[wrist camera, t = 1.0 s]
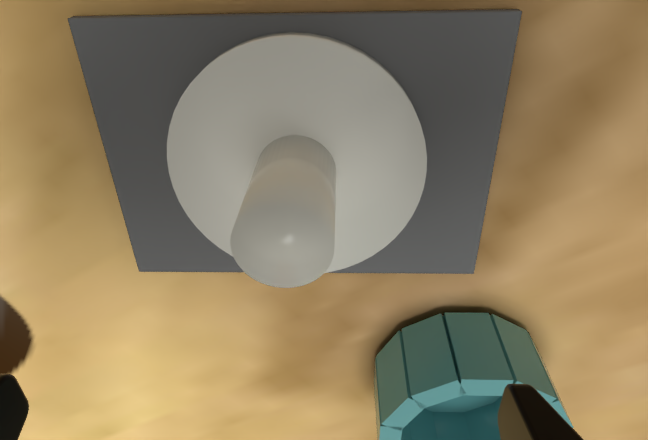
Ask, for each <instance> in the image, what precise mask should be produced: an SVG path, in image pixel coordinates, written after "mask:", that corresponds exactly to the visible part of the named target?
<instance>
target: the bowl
mask: <svg viewBox="0 0 648 440" xmlns="http://www.w3.org/2000/svg"><path fill="white" fill-rule="evenodd" d="M508 384H529V385H531V386H533V387H534V388H535V389H536V390H537V391H538V392H539V393H540V394H541V395H542V396H543V398H544V399H545V400H546V401H547V402H548V403H549V404H550V405H551V406H552V407H553V408H554V409H555V410H556V411H557V412H558V413H559V414H560V415H561V416H562V418H563V419H564V420H565V421H566V422H567V423H568V424H569V425H570V426H571V427H572V428H573V426H572V424H571V421H570V419H569V417H568V415H567V413H566V410H565V408H564V406H563V404H562V401H561V399H560V397H559V395H558V393H557V390H556V388H555V386H554V384H553V382H552V379H551V377H550V375H549V373H548V371H547V368H546V366H545V364H544V362H543V360H542V357H541V356H540V354H539V352H538V350H537V348H536V346H535V344H534V342H533V340H532V338H531V336H530V334H529V332H527V331H526V330H525V329H523V328H521V327H519V326H517V325H515V324H513V323H511V322H508V321H506V320H504V319H502V318H500V317H498V316H496V315H494V314H491V315H489V313H448V312H445V313H444V316H442V314H441V313H440V314H437V315H435V316H432V317H430V318H427V319H425V320H422V321H420V322H417V323H415V324H412V325H409V326H407V327H404V328H402V332H401V331H398V332H397V333H396V334H395V335H394V336H393V338H392V339H391V340H390V341H389V342H388V343H387V344H386V345H385V347H384V348H383V349H382V350H381V351H380V352H379V353H378V354H377V355H376V358H375V374H374V394H375V410H376V425H377V440H501V438H500V433H499V427H498V411H499V407H500V403H501V400H502V396H503V392H504V389H505V387H506V386H507V385H508Z"/></svg>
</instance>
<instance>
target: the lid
mask: <svg viewBox="0 0 648 440" xmlns="http://www.w3.org/2000/svg"><path fill="white" fill-rule="evenodd" d="M167 163H168V170H169V175H170V179H171V182H172V186H173V189H174V191H175V193H176V196H177V198H178V200H179V202H180V204H181V206H182V208H183V209H184V211H185V213H186V214H187V216H188V217H189V218H190V220H191V221H192V222H193V224H194V225H195V226H196V227H197V228H198V229H199V230H200V231H201V232H202V234H203V235H204V236H205V237H206V238H208V239H209V240H210V241H211V242H212V243H214V244H215V245H216V246H217V247H219V248H220V249H222V250H223V251H225V252H226V253H228V254H229V255H231V256H233V257H234V259H235V261H236V263H237V264H238V265H239V267H240V268H241V269H242V270H243V271H244V272H245V273H246V274H247V275H248V276H250V277H251V278H253V279H254V280H256V281H258V282H260V283H263V284H266V285H269V286H273V287H279V288H293V287H299V286H303V285H306V284H308V283H311V282H313V281H315V280H316V279H318V278H319V277H320V276H321V275H323V274H324V273H328V272H333V271H337V270H341V269H344V268H347V267H350V266H352V265H355V264H358V263H360V262H362V261H364V260H366V259H368V258H369V257H371V256H373V255H374V254H376V253H377V252H379V251H380V250H382V249H383V248H385V247H386V246H387V245H388V244H389V243H390V242H391V241H392V240H394V239H395V238H396V237H397V235H398V234H399V233H400V232H401V231H402V230H403V229H404V227H405V226H406V225H407V223H408V222H409V220H410V219H411V217H412V216H413V214H414V212H415V210H416V208H417V206H418V203H419V201H420V198H421V195H422V192H423V189H424V184H425V179H426V173H427V152H426V144H425V138H424V135H423V131H422V127H421V124H420V121H419V119H418V116H417V114H416V112H415V109H414V107H413V105H412V102H411V100H410V99H409V97H408V96H407V94H406V92H405V91H404V89H403V87H402V86H401V85H400V84H399V82H398V81H397V80H396V79H395V78H394V76H393V75H392V74H391V73H390V72H389V71H388V70H387V69H386V68H385V67H383V66H382V65H381V64H380V63H379V62H378V61H376V60H375V59H374V58H372V57H371V56H369V55H368V54H366V53H365V52H363V51H362V50H360V49H358V48H356V47H354V46H352V45H350V44H348V43H345V42H342V41H340V40H337V39H334V38H331V37H327V36H322V35H317V34H312V33H298V32H287V33H275V34H269V35H265V36H260V37H256V38H253V39H250V40H248V41H245V42H242V43H240V44H237V45H236V46H234V47H232V48H230V49H229V50H227V51H225V52H223V53H222V54H220V55H219V56H218V57H217V58H215V59H214V60H213V61H211V62H210V63H209V64H208V65H207V66H206V67H205V68H204V69H203V70H202V71H201V72H200V73H199V74H198V76H197V77H196V78H195V79H194V80H193V81H192V82H191V83H190V84H189V86H188V87H187V89H186V90H185V92H184V93H183V95H182V96H181V98H180V100H179V102H178V104H177V106H176V108H175V110H174V113H173V116H172V119H171V123H170V126H169V132H168V138H167Z"/></svg>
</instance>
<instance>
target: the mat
mask: <svg viewBox="0 0 648 440" xmlns="http://www.w3.org/2000/svg"><path fill="white" fill-rule="evenodd" d="M521 14H522V11H520V10H518V9H500V10H437V11H374V12H311V13H248V14H185V15H122V16H73V17H70V18H68V22H69V25H70V29H71V32H72V36H73V39H74V43H75V46H76V50H77V54H78V57H79V61H80V64H81V68H82V71H83V75H84V78H85V82H86V85H87V89H88V92H89V96H90V100H91V103H92V107H93V110H94V114H95V117H96V121H97V124H98V128H99V131H100V135H101V138H102V142H103V146H104V149H105V153H106V156H107V160H108V163H109V167H110V170H111V174H112V177H113V181H114V184H115V188H116V192H117V195H118V199H119V202H120V206H121V209H122V213H123V216H124V220H125V223H126V227H127V230H128V234H129V238H130V241H131V245H132V248H133V252H134V255H135V259H136V262H137V266H138V269H139V271H141V272H244V271H243V270H242V269H241V268H240V267H239V265H238V264H237V263H236V261H235V259H234V257H233V256H231V255H229V254H228V253H226V252H225V251H223V250H222V249H220V248H219V247H217V246H216V245H215V244H214V243H212V242H211V241H210V240H209V239H208V238H206V237H205V236H204V235H203V234H202V232H201V231H200V230H199V229H198V228H197V227H196V226H195V225H194V224H193V222H192V221H191V220H190V218H189V217H188V216H187V214H186V213H185V211H184V209H183V208H182V206H181V204H180V202H179V200H178V198H177V196H176V193H175V191H174V189H173V186H172V182H171V179H170V175H169V170H168V163H167V138H168V132H169V126H170V123H171V119H172V116H173V113H174V110H175V108H176V106H177V104H178V102H179V100H180V98H181V96H182V95H183V93H184V92H185V90H186V89H187V87H188V86H189V84H190V83H191V82H192V81H193V80H194V79H195V78H196V77H197V76H198V74H199V73H200V72H201V71H202V70H203V69H204V68H205V67H206V66H207V65H208V64H209V63H210V62H211V61H213V60H214V59H215V58H217V57H218V56H219V55H220V54H222V53H223V52H225V51H227V50H229V49H230V48H232V47H234V46H236V45H237V44H240V43H242V42H245V41H248V40H250V39H253V38H256V37H260V36H265V35H269V34H275V33H287V32H298V33H312V34H317V35H322V36H327V37H331V38H334V39H337V40H340V41H342V42H345V43H348V44H350V45H352V46H354V47H356V48H358V49H360V50H362V51H363V52H365V53H366V54H368V55H369V56H371V57H372V58H374V59H375V60H376V61H378V62H379V63H380V64H381V65H382V66H383V67H385V68H386V69H387V70H388V71H389V72H390V73H391V74H392V75H393V76H394V78H395V79H396V80H397V81H398V82H399V84H400V85H401V86H402V87H403V89H404V91H405V92H406V94H407V96H408V97H409V99H410V100H411V102H412V105H413V107H414V109H415V112H416V114H417V116H418V119H419V121H420V124H421V127H422V131H423V135H424V138H425V144H426V152H427V173H426V179H425V184H424V189H423V192H422V195H421V198H420V201H419V203H418V206H417V208H416V210H415V212H414V214H413V216H412V217H411V219H410V220H409V222H408V223H407V225H406V226H405V227H404V229H403V230H402V231H401V232H400V233H399V234H398V235H397V237H396V238H395V239H394V240H392V241H391V242H390V243H389V244H388V245H387V246H386V247H385V248H383V249H382V250H380V251H379V252H377V253H376V254H374V255H373V256H371V257H369V258H368V259H366V260H364V261H362V262H360V263H358V264H355V265H352V266H350V267H347V268H344V269H341V270H337V271H333V272H328V273H450V274H474V269H475V264H476V259H477V253H478V248H479V242H480V237H481V231H482V226H483V220H484V215H485V210H486V204H487V199H488V193H489V188H490V182H491V177H492V172H493V166H494V161H495V155H496V150H497V144H498V139H499V133H500V128H501V123H502V117H503V112H504V106H505V101H506V95H507V90H508V84H509V79H510V74H511V68H512V63H513V57H514V52H515V46H516V41H517V35H518V30H519V25H520V19H521Z"/></svg>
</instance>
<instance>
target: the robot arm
mask: <svg viewBox="0 0 648 440" xmlns="http://www.w3.org/2000/svg"><path fill="white" fill-rule="evenodd" d="M28 410H29V404H28V400H27V398H26V396H25V395H24V393H23V391H22V389H21V387H20V385H19V383H18V381H17V380H16V378H15V377H14V376H13V375H11V374H0V440H18V438H19V435H20V433H21V430H22V428H23V425H24V423H25V420H26V418H27V414H28ZM498 427H499V433H500V438H501V440H583V439H582V438H581V436H580V435H579V434H578V433H577V432H576V431H575V430H574V429H573V428H572V427H571V426H570V425H569V424H568V423H567V422H566V421H565V420H564V419H563V418H562V416H561V415H560V414H559V413H558V412H557V411H556V410H555V409H554V408H553V407H552V406H551V405H550V404H549V403H548V402H547V401H546V400H545V399H544V398H543V396H542V395H541V394H540V393H539V392H538V391H537V390H536V389H535V388H534V387H533V386H531V385H529V384H508V385H507V386H506V387H505V389H504V392H503V396H502V400H501V403H500V407H499V411H498Z"/></svg>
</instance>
